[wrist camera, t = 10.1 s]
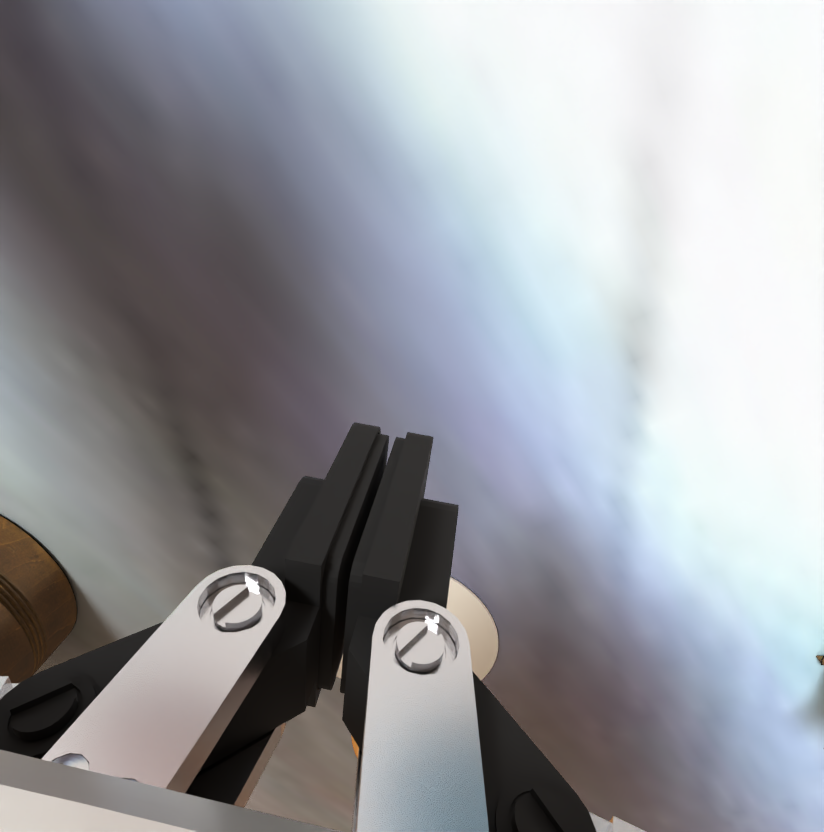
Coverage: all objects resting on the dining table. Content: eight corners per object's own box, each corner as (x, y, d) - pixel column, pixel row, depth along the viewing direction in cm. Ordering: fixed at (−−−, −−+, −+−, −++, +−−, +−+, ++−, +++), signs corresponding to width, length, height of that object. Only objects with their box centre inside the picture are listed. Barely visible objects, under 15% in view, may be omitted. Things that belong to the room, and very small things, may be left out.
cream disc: (299, 539, 31) (298, 541, 31) (518, 583, 30) (518, 585, 30) (297, 674, 37) (296, 677, 37) (478, 714, 36) (477, 717, 36)
